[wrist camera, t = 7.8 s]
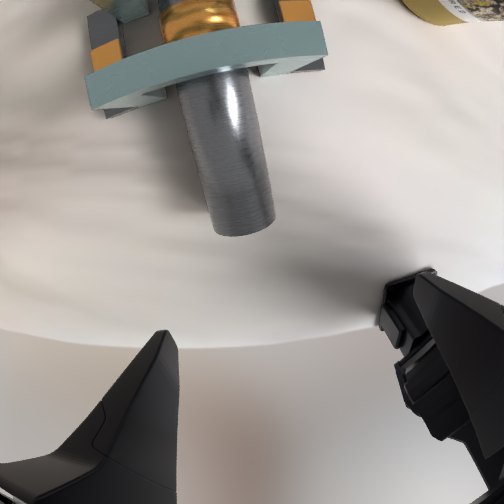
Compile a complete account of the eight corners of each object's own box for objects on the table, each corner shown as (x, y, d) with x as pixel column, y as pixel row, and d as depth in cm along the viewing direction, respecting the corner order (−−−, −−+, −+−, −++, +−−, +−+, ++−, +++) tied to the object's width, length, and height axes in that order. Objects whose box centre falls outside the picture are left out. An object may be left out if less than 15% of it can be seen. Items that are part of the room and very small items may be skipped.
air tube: (154, -18, 10) (143, -45, 6) (218, -32, 10) (224, -61, 7) (210, 216, 19) (213, 244, 16) (269, 201, 20) (286, 225, 16)
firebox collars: (295, -27, 11) (330, -78, 4) (319, 70, 15) (375, 55, 8) (93, 19, 11) (36, -8, 4) (112, 117, 15) (52, 130, 9)
